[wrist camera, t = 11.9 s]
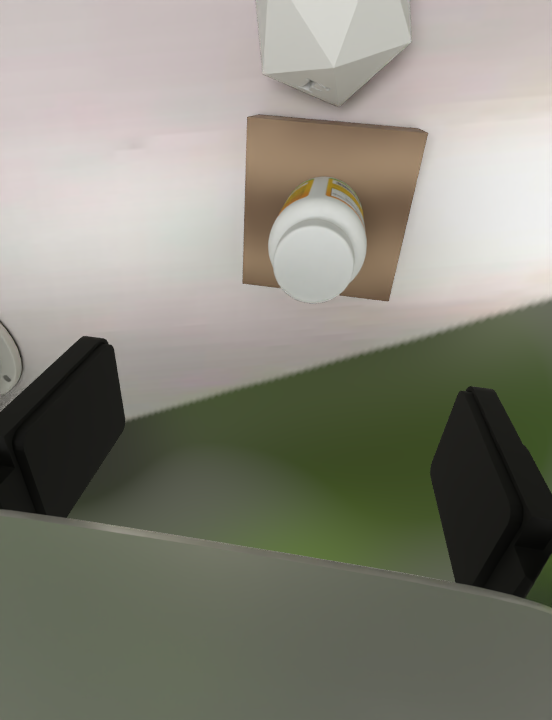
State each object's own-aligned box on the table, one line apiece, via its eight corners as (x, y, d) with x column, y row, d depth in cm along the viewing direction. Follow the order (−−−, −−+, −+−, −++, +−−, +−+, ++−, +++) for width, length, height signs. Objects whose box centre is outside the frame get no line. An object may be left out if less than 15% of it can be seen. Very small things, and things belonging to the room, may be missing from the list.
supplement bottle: (284, 256, 30) (261, 316, 22) (281, 176, 28) (253, 211, 19) (360, 256, 30) (365, 318, 21) (365, 174, 27) (373, 209, 19)
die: (237, 0, 27) (229, 109, 23) (297, -198, 19) (298, -82, 16) (347, 54, 30) (355, 158, 26) (435, -100, 22) (462, 16, 19)
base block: (384, 281, 34) (388, 301, 31) (252, 265, 35) (242, 283, 32) (418, 128, 28) (428, 133, 25) (258, 114, 29) (247, 117, 26)
